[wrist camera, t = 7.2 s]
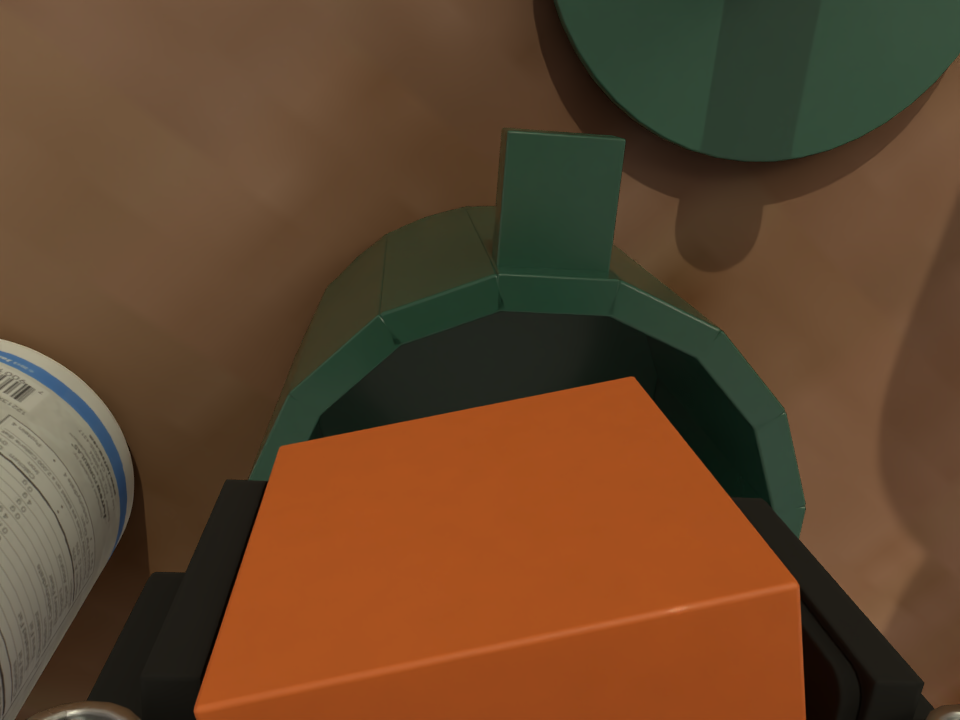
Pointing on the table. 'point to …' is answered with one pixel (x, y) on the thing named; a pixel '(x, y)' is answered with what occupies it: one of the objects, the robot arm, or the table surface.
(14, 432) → the supplement tub
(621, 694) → the block
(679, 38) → the lid
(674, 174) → the table surface
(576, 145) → the green cooking pot
